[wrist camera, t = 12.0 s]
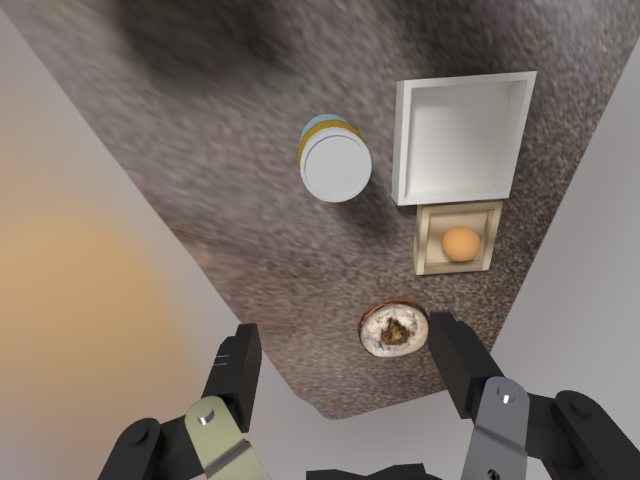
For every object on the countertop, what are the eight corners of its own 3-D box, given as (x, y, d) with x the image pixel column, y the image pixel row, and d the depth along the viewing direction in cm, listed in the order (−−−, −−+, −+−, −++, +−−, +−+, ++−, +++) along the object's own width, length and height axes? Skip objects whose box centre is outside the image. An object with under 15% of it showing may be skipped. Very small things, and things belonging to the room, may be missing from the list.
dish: (396, 81, 36) (404, 80, 33) (517, 72, 36) (537, 71, 33) (391, 197, 43) (397, 205, 40) (494, 190, 43) (508, 197, 39)
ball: (438, 221, 44) (452, 236, 39) (472, 219, 44) (491, 234, 39) (434, 251, 46) (447, 269, 41) (467, 249, 46) (484, 266, 41)
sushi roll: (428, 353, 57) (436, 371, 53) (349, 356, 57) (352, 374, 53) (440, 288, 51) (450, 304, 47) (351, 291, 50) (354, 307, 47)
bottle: (361, 123, 38) (389, 140, 25) (343, 175, 41) (360, 216, 28) (309, 105, 37) (308, 113, 24) (294, 160, 40) (286, 195, 27)
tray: (417, 201, 43) (423, 206, 41) (494, 196, 43) (503, 201, 41) (412, 267, 48) (416, 274, 46) (480, 262, 48) (488, 269, 46)
